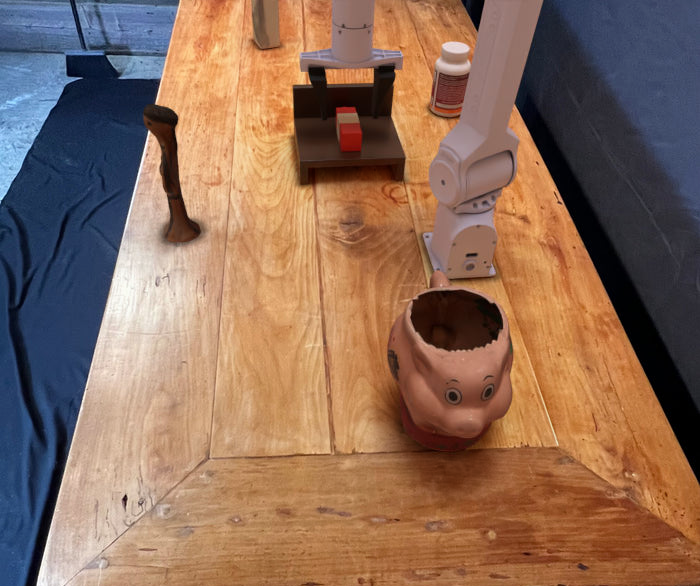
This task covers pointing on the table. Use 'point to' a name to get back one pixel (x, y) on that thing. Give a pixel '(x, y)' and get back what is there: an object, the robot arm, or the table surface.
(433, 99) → the pill bottle
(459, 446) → the decorative planter
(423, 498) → the table surface
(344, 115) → the red and white block
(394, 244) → the table surface
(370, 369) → the table surface
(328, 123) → the shelf
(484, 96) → the robot arm
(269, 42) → the box
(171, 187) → the figurine
